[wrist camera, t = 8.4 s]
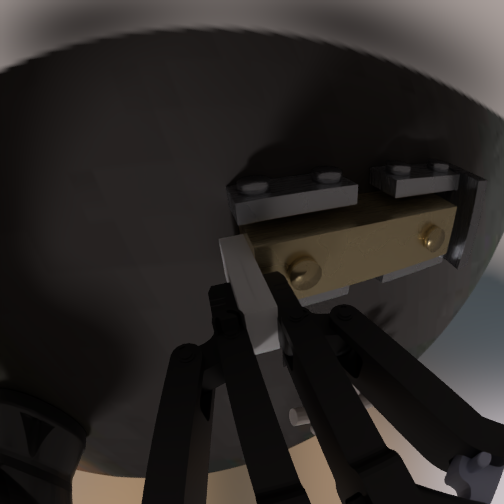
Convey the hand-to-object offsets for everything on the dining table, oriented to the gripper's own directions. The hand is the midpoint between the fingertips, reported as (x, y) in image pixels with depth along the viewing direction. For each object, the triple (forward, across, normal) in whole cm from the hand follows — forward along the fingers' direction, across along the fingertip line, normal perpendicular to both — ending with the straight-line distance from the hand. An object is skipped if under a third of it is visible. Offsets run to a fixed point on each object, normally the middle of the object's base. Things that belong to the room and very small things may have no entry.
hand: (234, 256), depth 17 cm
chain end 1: (+1, +15, 0) cm, 15 cm away
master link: (+2, +8, 0) cm, 8 cm away
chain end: (+1, +4, 0) cm, 4 cm away
